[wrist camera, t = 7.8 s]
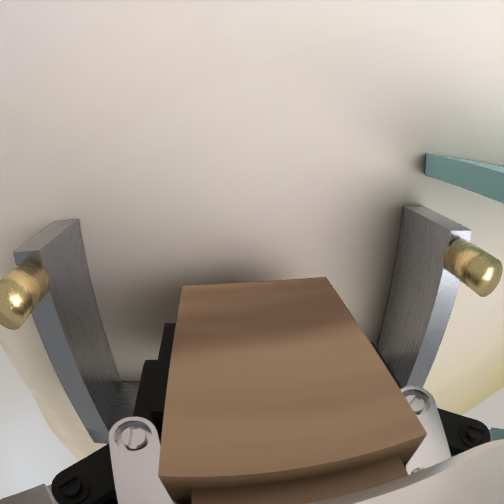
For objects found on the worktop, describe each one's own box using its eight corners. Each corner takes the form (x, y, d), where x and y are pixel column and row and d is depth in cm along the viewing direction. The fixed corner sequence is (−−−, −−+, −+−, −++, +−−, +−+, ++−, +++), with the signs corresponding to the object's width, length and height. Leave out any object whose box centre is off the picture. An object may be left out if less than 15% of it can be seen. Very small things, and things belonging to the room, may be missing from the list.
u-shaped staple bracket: (53, 221, 11) (-22, 278, 6) (424, 206, 13) (508, 249, 8) (105, 395, 15) (85, 473, 10) (387, 372, 17) (427, 438, 12)
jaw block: (182, 285, 11) (156, 504, 4) (325, 277, 11) (440, 455, 4) (197, 387, 12) (199, 557, 5) (312, 377, 13) (369, 531, 6)
